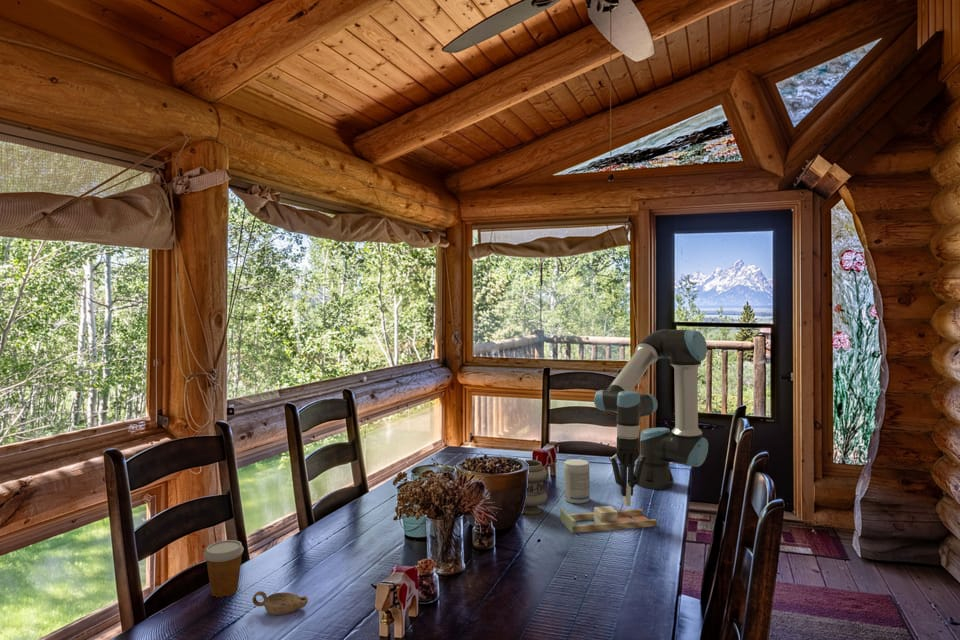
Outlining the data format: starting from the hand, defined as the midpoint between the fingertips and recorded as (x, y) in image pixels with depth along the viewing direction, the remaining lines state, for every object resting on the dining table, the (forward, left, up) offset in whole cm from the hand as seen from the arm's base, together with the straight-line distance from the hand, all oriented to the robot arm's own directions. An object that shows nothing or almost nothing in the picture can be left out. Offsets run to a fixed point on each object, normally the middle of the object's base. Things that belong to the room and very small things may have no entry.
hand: (626, 505), depth 207 cm
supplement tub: (+9, -25, -6) cm, 27 cm away
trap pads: (-3, 0, -6) cm, 7 cm away
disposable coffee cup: (+125, +26, -6) cm, 127 cm away
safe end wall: (+21, 0, -6) cm, 22 cm away
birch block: (+8, 0, -6) cm, 10 cm away
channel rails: (+7, 0, -6) cm, 9 cm away
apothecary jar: (+30, -16, -6) cm, 34 cm away
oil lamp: (+109, +39, -6) cm, 116 cm away
